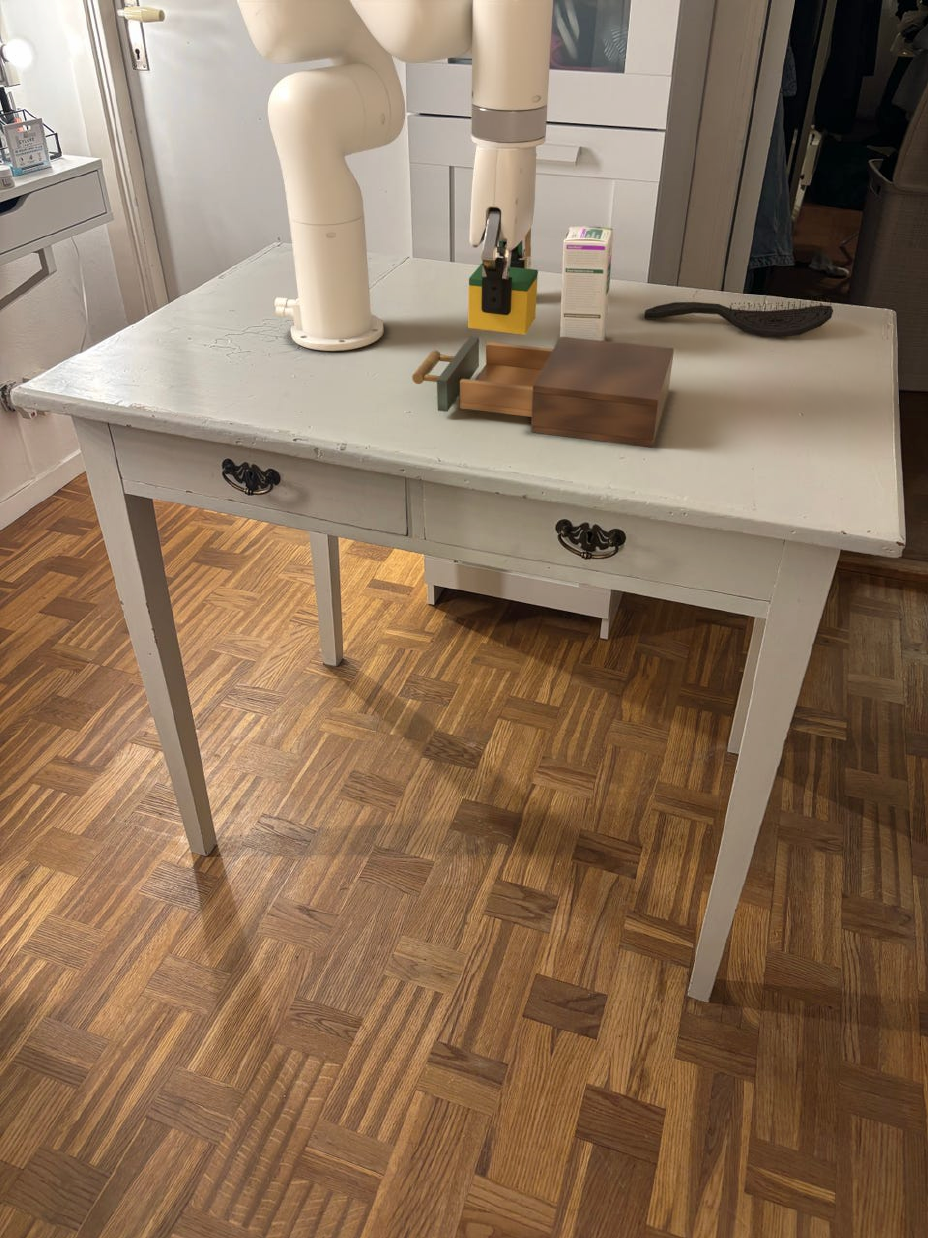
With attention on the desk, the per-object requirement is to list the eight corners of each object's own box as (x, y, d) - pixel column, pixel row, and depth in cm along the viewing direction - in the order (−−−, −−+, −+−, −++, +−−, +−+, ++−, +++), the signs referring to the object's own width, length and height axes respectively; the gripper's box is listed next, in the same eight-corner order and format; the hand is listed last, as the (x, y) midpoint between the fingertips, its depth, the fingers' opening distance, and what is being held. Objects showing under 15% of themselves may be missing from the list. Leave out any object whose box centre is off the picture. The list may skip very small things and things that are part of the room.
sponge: (468, 327, 106) (468, 277, 102) (480, 312, 110) (481, 263, 106) (525, 334, 104) (527, 284, 101) (535, 318, 108) (538, 269, 105)
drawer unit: (530, 432, 106) (532, 385, 102) (557, 380, 117) (560, 336, 113) (652, 447, 103) (658, 399, 99) (668, 392, 114) (674, 347, 110)
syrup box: (602, 355, 123) (612, 240, 114) (557, 352, 124) (563, 237, 115) (606, 338, 127) (615, 226, 118) (562, 335, 128) (568, 224, 119)
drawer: (403, 406, 109) (402, 375, 107) (438, 361, 119) (438, 332, 117) (543, 423, 105) (545, 392, 103) (567, 376, 116) (569, 346, 113)
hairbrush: (648, 287, 135) (832, 291, 129) (646, 312, 137) (828, 317, 131) (642, 307, 128) (836, 313, 123) (641, 333, 131) (831, 340, 125)
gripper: (494, 105, 101) (490, 275, 113) (447, 140, 89) (448, 327, 100) (562, 109, 100) (551, 281, 111) (525, 146, 87) (516, 336, 98)
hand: (502, 301), depth 106 cm, fingers closed on sponge, 5 cm apart
